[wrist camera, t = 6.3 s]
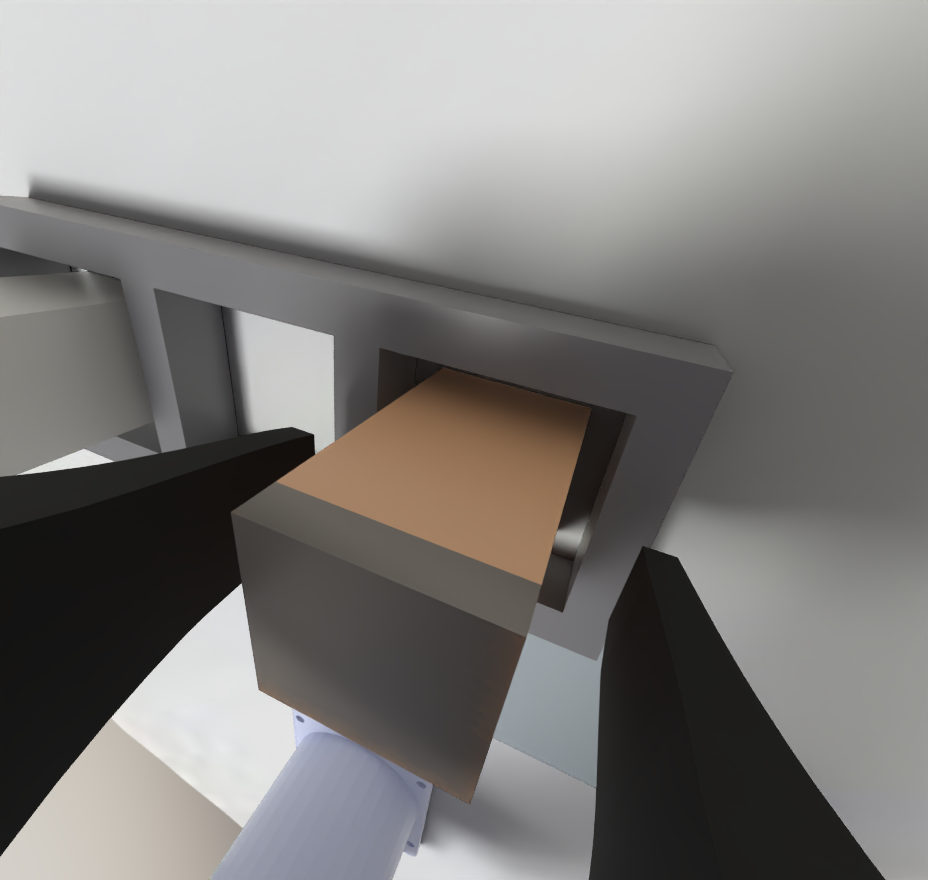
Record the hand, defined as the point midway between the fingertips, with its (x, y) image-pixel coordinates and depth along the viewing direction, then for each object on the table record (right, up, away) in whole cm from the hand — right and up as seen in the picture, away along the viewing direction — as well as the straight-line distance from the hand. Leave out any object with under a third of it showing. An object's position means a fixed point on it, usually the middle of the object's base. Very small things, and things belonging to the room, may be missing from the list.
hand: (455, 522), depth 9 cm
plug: (+1, +1, +3) cm, 4 cm away
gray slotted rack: (-5, +3, +5) cm, 8 cm away
